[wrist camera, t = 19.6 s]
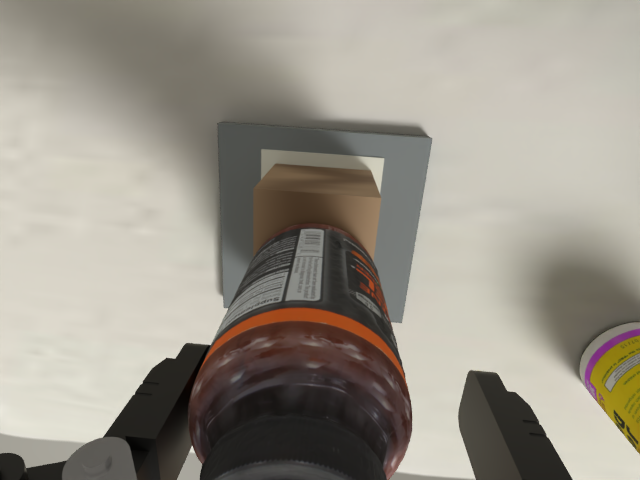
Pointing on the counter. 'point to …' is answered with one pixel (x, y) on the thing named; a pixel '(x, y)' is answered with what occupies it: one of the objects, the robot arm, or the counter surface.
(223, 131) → the mat
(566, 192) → the counter surface
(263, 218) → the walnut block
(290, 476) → the supplement bottle
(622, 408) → the supplement bottle
